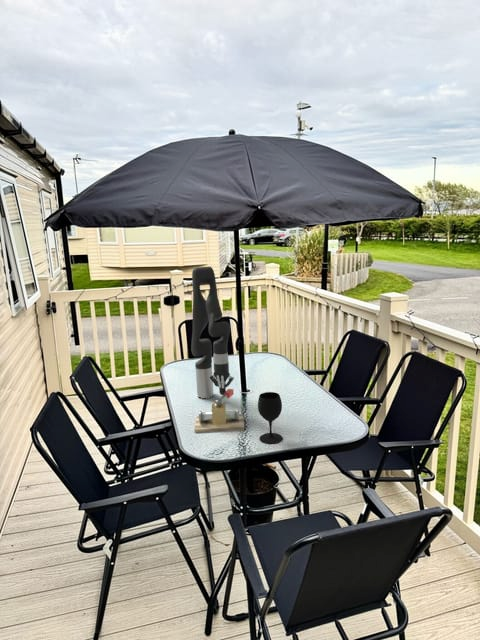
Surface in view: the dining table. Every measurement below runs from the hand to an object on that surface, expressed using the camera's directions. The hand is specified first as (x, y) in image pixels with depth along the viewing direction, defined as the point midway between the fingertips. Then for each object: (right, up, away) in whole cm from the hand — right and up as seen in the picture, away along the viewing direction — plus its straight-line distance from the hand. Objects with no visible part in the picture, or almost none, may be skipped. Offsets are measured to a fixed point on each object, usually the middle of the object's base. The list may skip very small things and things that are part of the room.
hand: (222, 394), depth 216 cm
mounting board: (-1, -12, -11) cm, 17 cm away
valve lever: (+1, -2, -6) cm, 6 cm away
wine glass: (+22, -15, -28) cm, 39 cm away
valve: (-1, -11, -11) cm, 16 cm away
